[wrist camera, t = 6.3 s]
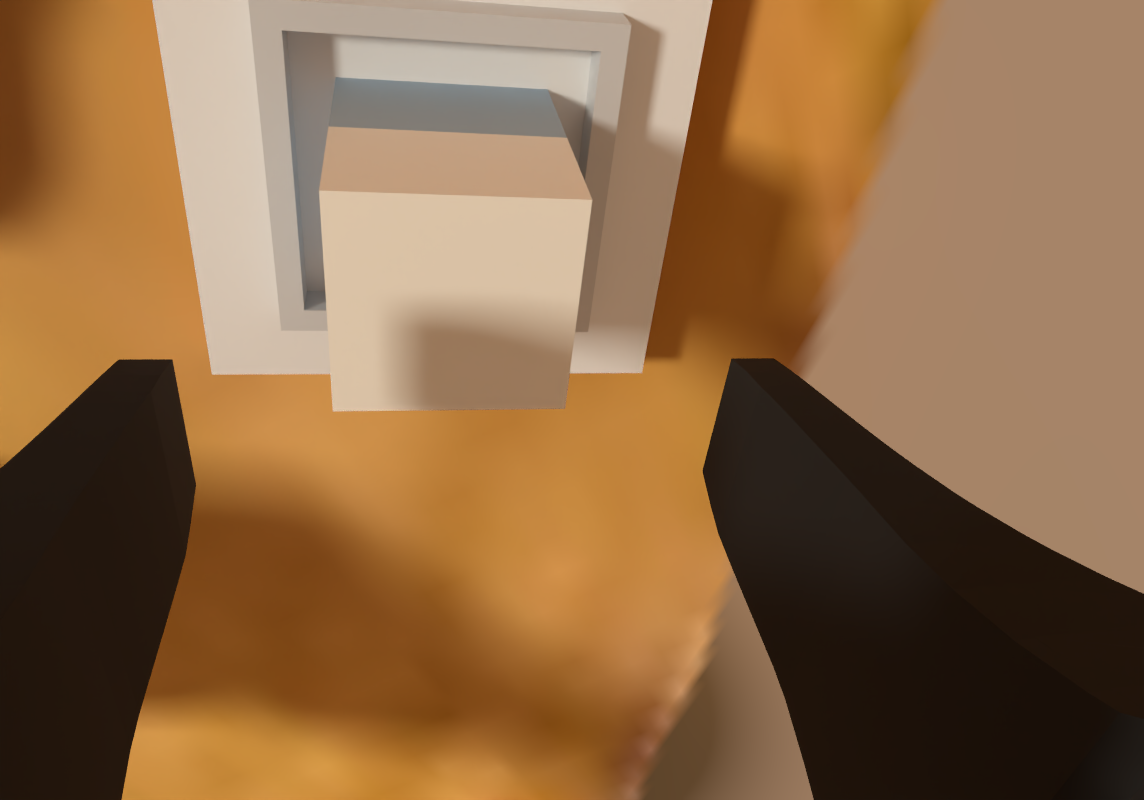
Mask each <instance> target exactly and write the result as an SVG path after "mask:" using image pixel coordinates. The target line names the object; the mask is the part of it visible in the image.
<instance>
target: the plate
mask: <svg viewBox="0 0 1144 800" xmlns="http://www.w3.org/2000/svg"><path fill="white" fill-rule="evenodd" d="M152 1H153V7H154V13H155V20H156V26H157V32H158V39H159V45H160V51H161V57H162V64H163V70H164V76H165V83H166V89H167V95H168V101H169V108H170V114H171V120H172V126H173V133H174V139H175V145H176V152H177V158H178V164H179V170H180V177H181V183H182V189H183V195H184V202H185V208H186V214H187V221H188V227H189V233H190V239H191V246H192V252H193V258H194V264H195V271H196V277H197V283H198V290H199V296H200V302H201V308H202V315H203V321H204V327H205V333H206V340H207V346H208V352H209V359H210V365H211V371H212V374H331V373H330V357H329V342H328V326H327V310H326V294H325V278H324V262H323V246H322V231H321V215H320V199H319V187H320V180H321V173H322V167H323V160H324V153H325V146H326V140H327V133H328V126H329V119H330V112H331V106H332V99H333V92H334V85H335V78H336V77H341V78H359V79H376V80H393V81H411V82H428V83H445V84H463V85H480V86H498V87H515V88H532V89H548V92H549V94H550V97H551V99H552V102H553V104H554V107H555V109H556V112H557V114H558V117H559V119H560V121H561V124H562V126H563V129H564V131H565V134H566V136H567V139H568V141H569V144H570V146H571V149H572V151H573V153H574V156H575V158H576V161H577V163H578V166H579V168H580V171H581V173H582V176H583V178H584V181H585V183H586V185H587V188H588V190H589V193H590V195H591V198H592V207H591V214H590V222H589V229H588V237H587V245H586V252H585V260H584V268H583V275H582V283H581V290H580V298H579V306H578V313H577V321H576V329H575V336H574V344H573V352H572V359H571V367H570V373H642V370H643V365H644V359H645V354H646V349H647V343H648V338H649V333H650V328H651V322H652V317H653V312H654V306H655V301H656V296H657V291H658V285H659V280H660V275H661V270H662V264H663V259H664V254H665V248H666V243H667V238H668V233H669V227H670V222H671V217H672V212H673V206H674V201H675V196H676V190H677V185H678V180H679V175H680V169H681V164H682V159H683V153H684V148H685V143H686V138H687V132H688V127H689V122H690V117H691V111H692V106H693V101H694V95H695V90H696V85H697V80H698V74H699V69H700V64H701V59H702V53H703V48H704V43H705V37H706V32H707V27H708V22H709V16H710V11H711V6H712V0H152Z"/></svg>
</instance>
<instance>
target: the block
mask: <svg viewBox="0 0 1144 800" xmlns="http://www.w3.org/2000/svg"><path fill="white" fill-rule="evenodd" d="M319 199H320V215H321V231H322V246H323V262H324V278H325V294H326V310H327V326H328V342H329V357H330V373H331V389H332V405H333V411H407V410H498V409H565V405H566V397H567V390H568V382H569V374H570V367H571V359H572V352H573V344H574V336H575V329H576V321H577V313H578V306H579V298H580V290H581V283H582V275H583V268H584V260H585V252H586V245H587V237H588V229H589V222H590V214H591V207H592V198H591V195H590V193H589V190H588V188H587V185H586V183H585V181H584V178H583V176H582V173H581V171H580V168H579V166H578V163H577V161H576V158H575V156H574V153H573V151H572V149H571V146H570V144H569V141H568V139H567V136H566V134H565V131H564V129H563V126H562V124H561V121H560V119H559V117H558V114H557V112H556V109H555V107H554V104H553V102H552V99H551V97H550V94H549V92H548V89H532V88H515V87H498V86H480V85H463V84H445V83H428V82H411V81H393V80H376V79H359V78H341V77H336V78H335V85H334V92H333V99H332V106H331V112H330V119H329V126H328V133H327V140H326V146H325V153H324V160H323V167H322V173H321V180H320V187H319Z"/></svg>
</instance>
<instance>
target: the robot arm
mask: <svg viewBox="0 0 1144 800" xmlns="http://www.w3.org/2000/svg"><path fill="white" fill-rule="evenodd" d="M703 475H704V479H705V483H706V488H707V492H708V496H709V500H710V504H711V508H712V512H713V515H714V519H715V523H716V526H717V530H718V534H719V536H720V539H721V541H722V544H723V546H724V549H725V551H726V554H727V556H728V559H729V561H730V564H731V566H732V569H733V571H734V574H735V576H736V578H737V581H738V583H739V586H740V588H741V590H742V593H743V595H744V598H745V600H746V602H747V605H748V607H749V610H750V612H751V614H752V617H753V619H754V621H755V624H756V626H757V628H758V631H759V633H760V636H761V638H762V641H763V643H764V645H765V648H766V650H767V653H768V655H769V657H770V660H771V662H772V665H773V666H774V670H775V672H776V675H777V678H778V681H779V683H780V686H781V689H782V691H783V694H784V697H785V700H786V703H787V707H788V710H789V713H790V717H791V720H792V724H793V727H794V730H795V733H796V737H797V741H798V744H799V747H800V751H801V754H802V758H803V761H804V764H805V768H806V772H807V776H808V779H809V783H810V786H811V791H812V794H813V798H814V800H1144V594H1142V593H1141V592H1138V591H1136V590H1134V589H1132V588H1130V587H1127V586H1125V585H1123V584H1121V583H1119V582H1116V581H1114V580H1112V579H1110V578H1108V577H1105V576H1103V575H1101V574H1099V573H1097V572H1095V571H1093V570H1091V569H1089V568H1087V567H1085V566H1083V565H1081V564H1079V563H1077V562H1075V561H1073V560H1071V559H1069V558H1067V557H1065V556H1063V555H1061V554H1059V553H1057V552H1055V551H1053V550H1051V549H1050V548H1048V547H1046V546H1044V545H1042V544H1040V543H1038V542H1037V541H1035V540H1033V539H1031V538H1029V537H1027V536H1026V535H1024V534H1022V533H1020V532H1018V531H1017V530H1015V529H1013V528H1012V527H1010V526H1008V525H1007V524H1005V523H1003V522H1002V521H1000V520H998V519H997V518H995V517H993V516H991V515H990V514H988V513H986V512H985V511H983V510H981V509H980V508H978V507H976V506H975V505H973V504H971V503H970V502H968V501H967V500H965V499H963V498H962V497H960V496H959V495H957V494H956V493H954V492H953V491H951V490H950V489H948V488H947V487H945V486H944V485H942V484H941V483H939V482H938V481H937V480H935V479H934V478H932V477H931V476H929V475H928V474H926V473H925V472H924V471H922V470H921V469H919V468H917V467H916V466H915V465H913V464H912V463H911V462H909V461H908V460H907V459H905V458H904V457H902V456H901V455H899V454H898V453H897V452H896V451H894V450H893V449H891V448H890V447H889V446H887V445H886V444H884V443H883V442H882V441H881V440H879V439H878V438H877V437H876V436H874V435H873V434H872V433H870V432H869V431H868V430H866V429H865V428H864V427H863V426H861V425H860V424H859V423H857V422H856V421H855V420H854V419H852V418H851V417H850V416H848V415H847V414H846V413H844V412H843V411H842V410H841V409H840V408H838V407H837V406H836V405H834V404H833V403H832V402H831V401H829V400H828V399H827V398H826V397H824V396H823V395H822V394H821V393H819V392H818V391H817V390H815V389H814V388H813V387H812V386H810V385H809V384H808V383H807V382H805V381H804V380H803V379H801V378H800V377H799V376H797V375H796V374H795V373H793V372H792V371H791V370H789V369H788V368H787V367H785V366H784V365H782V364H781V363H779V362H778V361H776V360H775V359H731V363H730V367H729V371H728V375H727V378H726V382H725V386H724V390H723V394H722V398H721V402H720V406H719V409H718V413H717V417H716V421H715V425H714V429H713V433H712V436H711V440H710V444H709V448H708V452H707V456H706V460H705V464H704V467H703ZM195 487H196V483H195V477H194V472H193V467H192V462H191V456H190V451H189V446H188V440H187V435H186V430H185V424H184V419H183V414H182V409H181V403H180V398H179V393H178V387H177V382H176V377H175V372H174V366H173V361H172V360H118V361H117V362H116V363H114V364H113V365H112V366H111V367H110V368H109V369H108V370H107V371H106V372H105V373H103V374H102V375H101V376H100V377H99V378H98V379H97V380H96V381H95V382H94V383H93V384H92V385H91V386H89V387H88V388H87V389H86V390H85V391H84V392H83V393H82V394H81V395H80V396H79V397H78V398H77V399H76V400H75V401H74V402H73V403H72V404H70V405H69V406H68V407H67V408H66V409H65V410H64V411H63V412H62V413H61V414H60V415H59V416H58V417H57V418H56V419H55V420H54V421H52V422H51V423H50V424H49V425H48V426H47V427H46V428H45V429H44V430H43V431H42V432H41V433H40V434H38V435H37V436H36V437H35V438H34V439H33V440H32V441H31V442H30V443H28V444H27V445H26V446H25V447H24V448H23V449H22V450H21V451H20V452H18V453H17V454H16V455H15V456H14V457H13V458H12V459H11V460H10V461H8V462H7V463H6V464H5V465H4V466H3V467H2V468H0V800H121V799H122V793H123V788H124V782H125V777H126V771H127V766H128V760H129V754H130V749H131V745H132V741H133V737H134V733H135V729H136V725H137V721H138V717H139V713H140V709H141V706H142V703H143V699H144V696H145V693H146V689H147V686H148V682H149V679H150V676H151V672H152V669H153V665H154V662H155V659H156V655H157V652H158V649H159V645H160V642H161V638H162V635H163V632H164V628H165V625H166V622H167V618H168V615H169V611H170V608H171V605H172V601H173V598H174V594H175V591H176V587H177V584H178V580H179V577H180V573H181V570H182V566H183V563H184V559H185V555H186V549H187V543H188V537H189V530H190V524H191V517H192V509H193V502H194V495H195Z"/></svg>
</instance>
